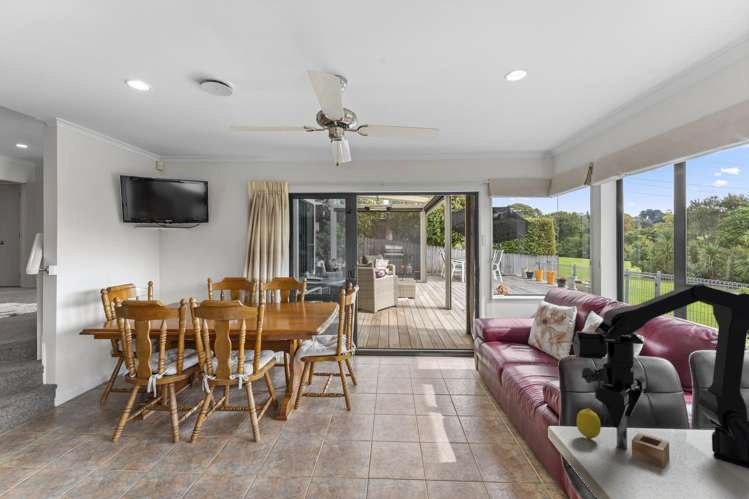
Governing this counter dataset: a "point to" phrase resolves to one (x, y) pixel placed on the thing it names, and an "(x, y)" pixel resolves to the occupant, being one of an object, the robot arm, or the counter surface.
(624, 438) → the peg
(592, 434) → the lemon
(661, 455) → the block with square hole
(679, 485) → the counter surface
